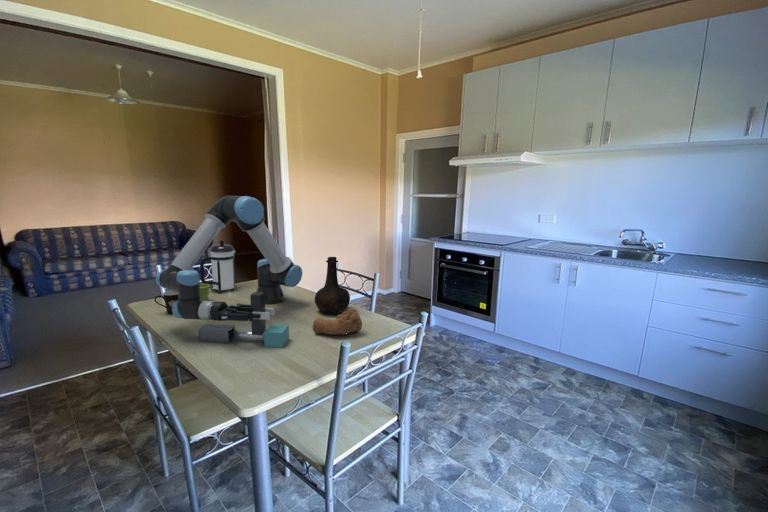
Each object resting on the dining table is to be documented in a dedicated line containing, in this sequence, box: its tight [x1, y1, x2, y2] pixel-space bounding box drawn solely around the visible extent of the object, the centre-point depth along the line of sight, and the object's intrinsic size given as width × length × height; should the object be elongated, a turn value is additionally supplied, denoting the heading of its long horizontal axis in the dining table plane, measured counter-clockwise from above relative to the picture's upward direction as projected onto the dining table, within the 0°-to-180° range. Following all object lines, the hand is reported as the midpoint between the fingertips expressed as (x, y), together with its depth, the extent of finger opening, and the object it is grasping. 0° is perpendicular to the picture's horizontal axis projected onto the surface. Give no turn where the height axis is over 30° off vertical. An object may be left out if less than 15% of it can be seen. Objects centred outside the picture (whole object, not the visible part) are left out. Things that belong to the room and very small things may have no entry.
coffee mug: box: [154, 290, 179, 316], centre depth 166 cm, size 12×9×10 cm
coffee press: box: [199, 239, 238, 294], centre depth 200 cm, size 17×16×30 cm
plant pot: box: [200, 283, 211, 301], centre depth 182 cm, size 9×9×9 cm
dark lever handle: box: [229, 291, 267, 341], centre depth 136 cm, size 19×4×19 cm, turn 87°
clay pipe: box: [312, 307, 363, 336], centre depth 149 cm, size 19×11×15 cm
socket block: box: [263, 324, 290, 348], centre depth 137 cm, size 7×8×6 cm
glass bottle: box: [314, 256, 351, 314], centre depth 173 cm, size 18×18×28 cm
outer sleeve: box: [197, 323, 237, 344], centre depth 139 cm, size 12×6×5 cm, turn 87°
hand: (271, 313), depth 136 cm, fingers closed on dark lever handle, 4 cm apart
